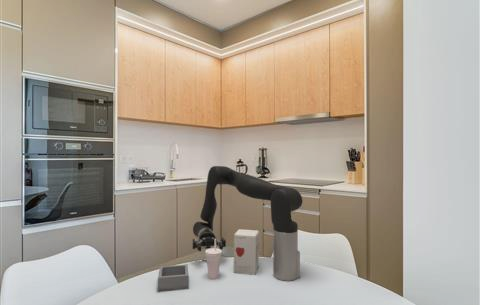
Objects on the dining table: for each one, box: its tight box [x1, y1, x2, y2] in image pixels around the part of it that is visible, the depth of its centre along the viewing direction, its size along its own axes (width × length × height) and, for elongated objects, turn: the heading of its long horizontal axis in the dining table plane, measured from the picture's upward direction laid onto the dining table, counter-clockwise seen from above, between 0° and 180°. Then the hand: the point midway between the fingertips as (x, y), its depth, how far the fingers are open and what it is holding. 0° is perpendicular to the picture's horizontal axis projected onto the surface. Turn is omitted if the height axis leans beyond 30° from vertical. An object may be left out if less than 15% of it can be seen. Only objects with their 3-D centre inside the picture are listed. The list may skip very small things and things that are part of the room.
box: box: [157, 263, 190, 293], centre depth 92 cm, size 10×10×4 cm
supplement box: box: [233, 228, 260, 276], centre depth 105 cm, size 9×9×15 cm
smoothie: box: [204, 238, 223, 280], centre depth 98 cm, size 6×6×14 cm
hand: (210, 248), depth 106 cm, fingers open, 8 cm apart
